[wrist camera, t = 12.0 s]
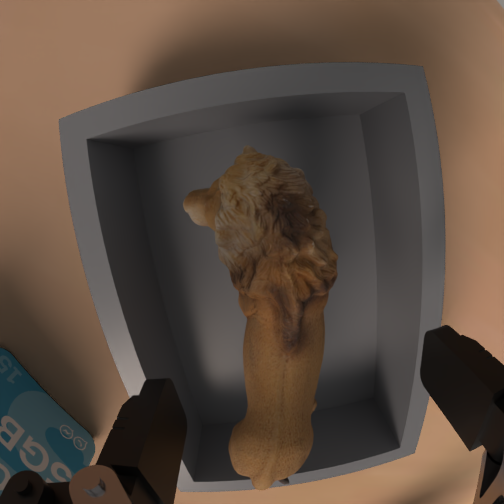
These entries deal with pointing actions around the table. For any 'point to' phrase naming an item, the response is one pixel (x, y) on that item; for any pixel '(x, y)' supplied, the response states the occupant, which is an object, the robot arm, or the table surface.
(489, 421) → the robot arm
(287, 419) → the lion figurine
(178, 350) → the bin
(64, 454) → the data package
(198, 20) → the table surface
